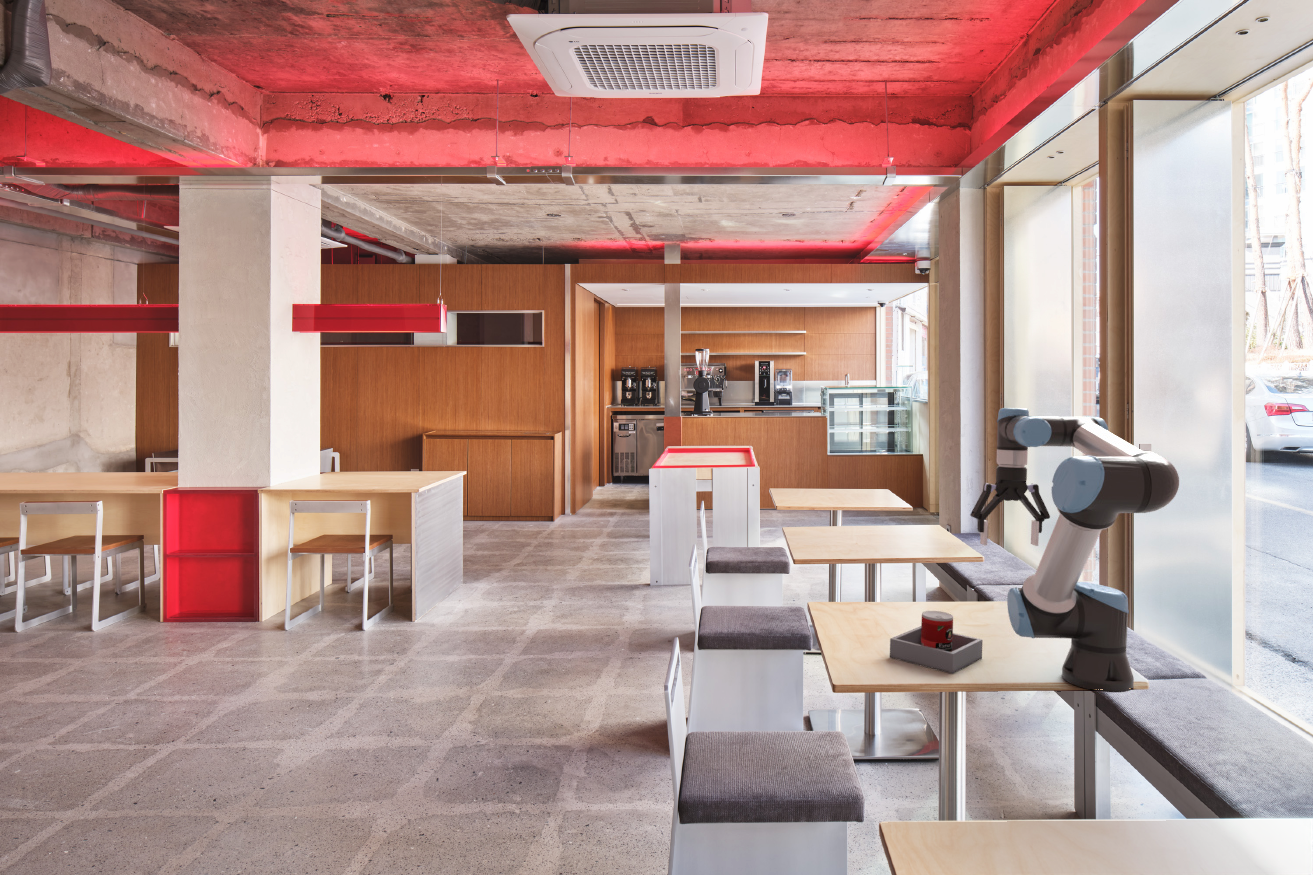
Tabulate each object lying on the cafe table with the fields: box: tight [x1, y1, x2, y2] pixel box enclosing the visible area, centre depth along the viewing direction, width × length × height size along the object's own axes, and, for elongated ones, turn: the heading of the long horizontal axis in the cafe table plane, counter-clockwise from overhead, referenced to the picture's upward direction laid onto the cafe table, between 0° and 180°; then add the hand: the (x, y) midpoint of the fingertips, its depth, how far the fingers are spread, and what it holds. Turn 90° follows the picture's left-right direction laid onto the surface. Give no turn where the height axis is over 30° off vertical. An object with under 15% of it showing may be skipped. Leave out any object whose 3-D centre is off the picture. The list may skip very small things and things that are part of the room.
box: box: [889, 626, 983, 675], centre depth 210 cm, size 17×17×5 cm
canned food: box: [920, 610, 954, 652], centre depth 210 cm, size 8×8×11 cm
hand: (1009, 544), depth 216 cm, fingers open, 13 cm apart
